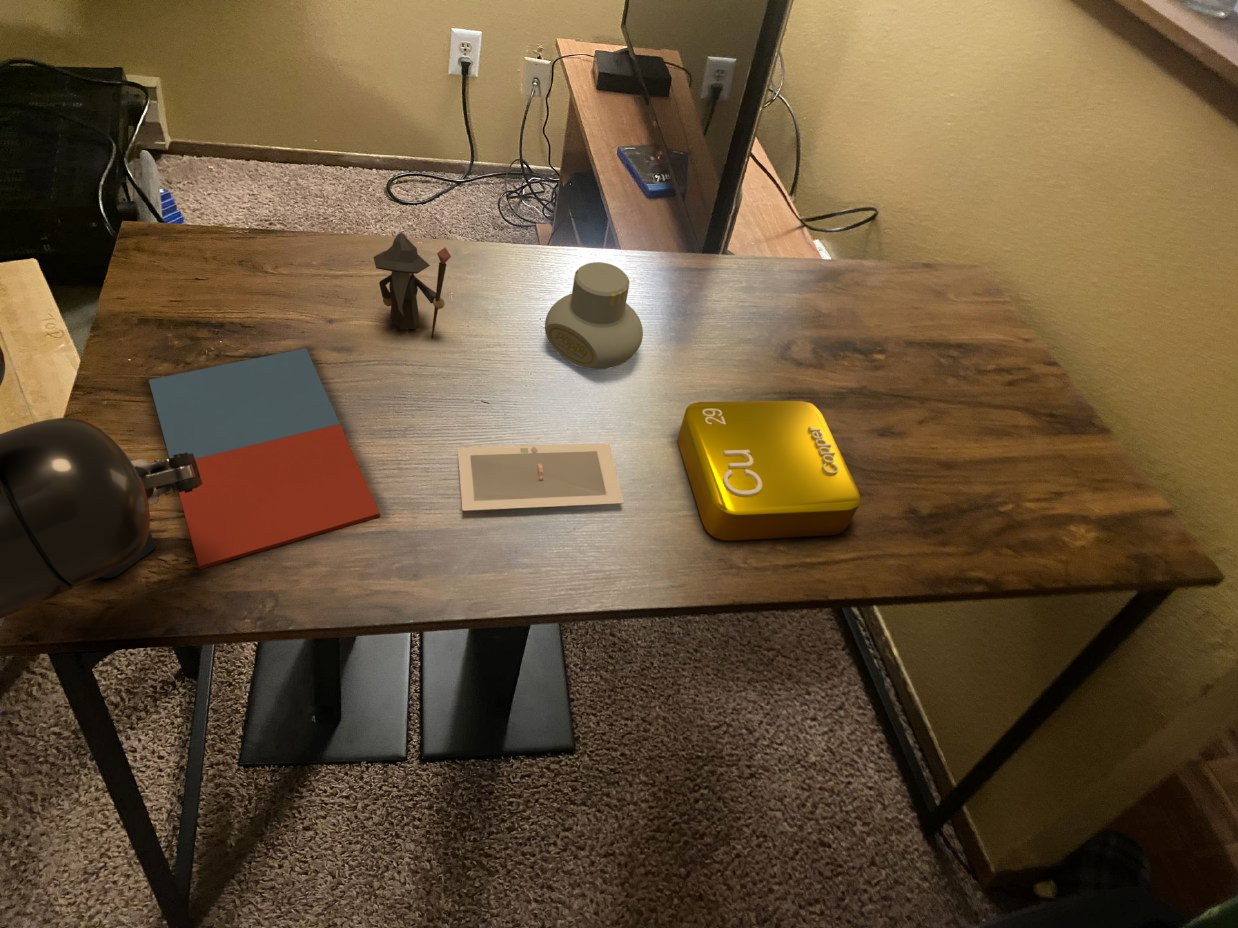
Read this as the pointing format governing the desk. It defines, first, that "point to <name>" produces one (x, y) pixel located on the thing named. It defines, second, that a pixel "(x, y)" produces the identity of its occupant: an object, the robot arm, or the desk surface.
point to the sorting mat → (260, 455)
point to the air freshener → (595, 319)
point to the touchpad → (537, 476)
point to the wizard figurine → (408, 283)
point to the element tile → (766, 470)
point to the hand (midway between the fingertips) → (98, 492)
